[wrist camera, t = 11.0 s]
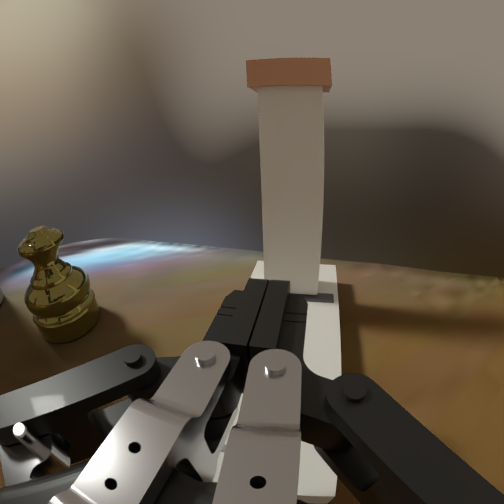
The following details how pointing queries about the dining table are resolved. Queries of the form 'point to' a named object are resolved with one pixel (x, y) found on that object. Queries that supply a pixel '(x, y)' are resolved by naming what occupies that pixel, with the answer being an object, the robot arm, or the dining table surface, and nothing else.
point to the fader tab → (291, 165)
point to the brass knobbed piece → (57, 289)
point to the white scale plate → (323, 364)
